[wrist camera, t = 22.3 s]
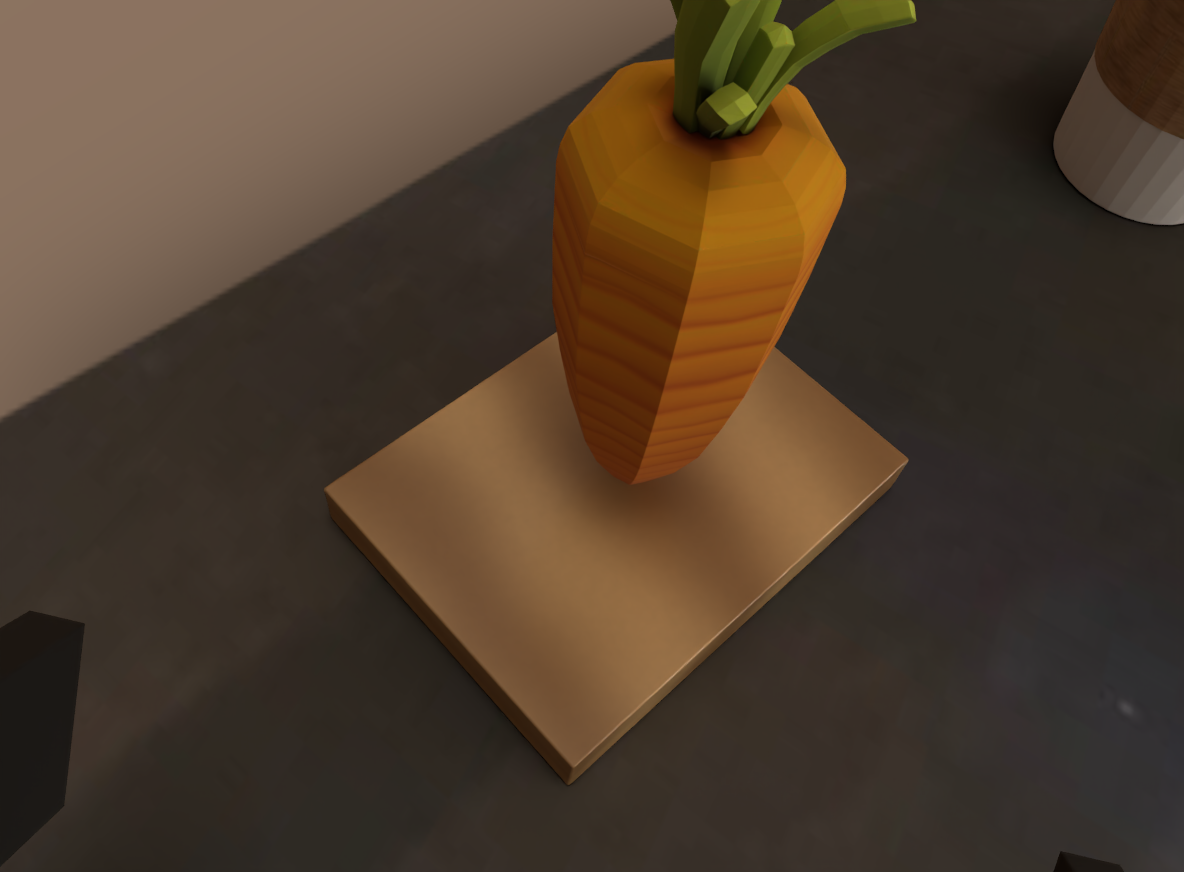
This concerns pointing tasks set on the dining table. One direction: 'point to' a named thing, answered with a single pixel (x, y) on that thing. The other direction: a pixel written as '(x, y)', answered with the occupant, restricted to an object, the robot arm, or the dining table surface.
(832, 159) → the carrot
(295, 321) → the dining table surface
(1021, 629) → the dining table surface
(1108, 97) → the coffee cup
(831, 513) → the board
